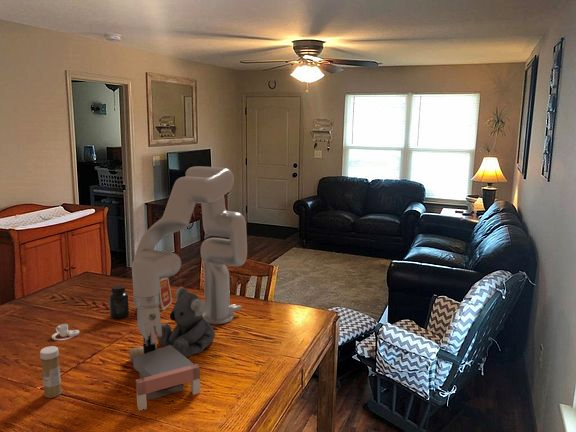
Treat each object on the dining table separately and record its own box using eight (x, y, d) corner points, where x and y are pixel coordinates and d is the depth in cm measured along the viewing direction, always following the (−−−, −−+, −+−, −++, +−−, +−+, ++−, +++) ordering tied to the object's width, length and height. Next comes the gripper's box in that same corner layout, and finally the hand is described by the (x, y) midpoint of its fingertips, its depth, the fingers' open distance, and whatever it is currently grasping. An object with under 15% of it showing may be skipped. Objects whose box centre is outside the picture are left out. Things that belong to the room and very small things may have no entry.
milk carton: (163, 310, 193) (161, 262, 189) (142, 308, 195) (139, 260, 191) (173, 302, 202) (171, 255, 198) (152, 300, 203) (150, 254, 199)
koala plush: (154, 342, 166) (152, 288, 162) (202, 329, 176) (201, 278, 172) (175, 363, 152) (173, 305, 148) (225, 348, 163) (224, 293, 159)
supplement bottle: (110, 314, 189) (108, 284, 186) (129, 312, 191) (127, 283, 188) (110, 321, 182) (108, 290, 180) (129, 318, 185) (127, 289, 182)
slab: (170, 353, 149) (170, 344, 148) (194, 374, 139) (194, 364, 139) (133, 366, 141) (133, 357, 141) (156, 389, 131) (156, 380, 131)
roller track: (157, 352, 159) (156, 340, 158) (183, 389, 138) (183, 376, 137) (126, 360, 154) (125, 348, 153) (148, 400, 132) (147, 386, 132)
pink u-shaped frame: (197, 389, 138) (196, 363, 136) (200, 392, 136) (199, 366, 135) (137, 407, 129) (135, 379, 128) (139, 411, 128) (137, 383, 126)
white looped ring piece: (83, 334, 172) (82, 323, 171) (64, 343, 165) (63, 332, 164) (65, 329, 176) (64, 319, 175) (46, 338, 168) (45, 327, 168)
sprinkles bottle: (41, 394, 135) (36, 349, 132) (57, 387, 138) (53, 343, 135) (48, 400, 132) (44, 355, 129) (65, 393, 135) (61, 349, 132)
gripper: (167, 305, 139) (169, 363, 143) (152, 289, 151) (154, 343, 155) (141, 310, 135) (144, 370, 139) (127, 293, 148) (131, 348, 151)
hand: (149, 355), depth 147 cm, fingers closed
